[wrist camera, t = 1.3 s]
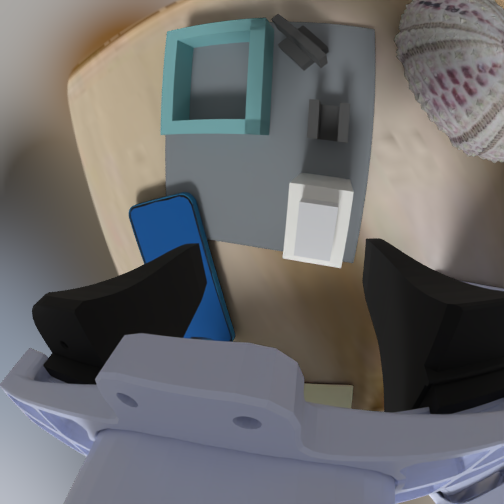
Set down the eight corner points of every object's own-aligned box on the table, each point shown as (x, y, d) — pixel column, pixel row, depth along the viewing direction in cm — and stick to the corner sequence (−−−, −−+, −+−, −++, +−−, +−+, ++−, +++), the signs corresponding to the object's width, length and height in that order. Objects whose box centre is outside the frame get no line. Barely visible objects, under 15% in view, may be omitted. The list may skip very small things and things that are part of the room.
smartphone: (190, 191, 21) (235, 345, 26) (196, 188, 22) (239, 339, 27) (125, 207, 24) (174, 340, 29) (132, 205, 25) (179, 335, 30)
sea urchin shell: (417, 167, 17) (460, 185, 10) (363, 3, 13) (369, -55, 6) (539, 156, 12) (597, 173, 5) (495, 9, 8) (535, -21, 1)
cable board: (373, 31, 14) (379, 12, 10) (353, 261, 21) (354, 283, 18) (174, 36, 18) (149, 25, 14) (170, 231, 25) (147, 245, 22)
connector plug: (349, 179, 18) (354, 195, 13) (341, 239, 20) (340, 276, 15) (301, 172, 19) (286, 185, 14) (295, 232, 21) (279, 265, 16)
